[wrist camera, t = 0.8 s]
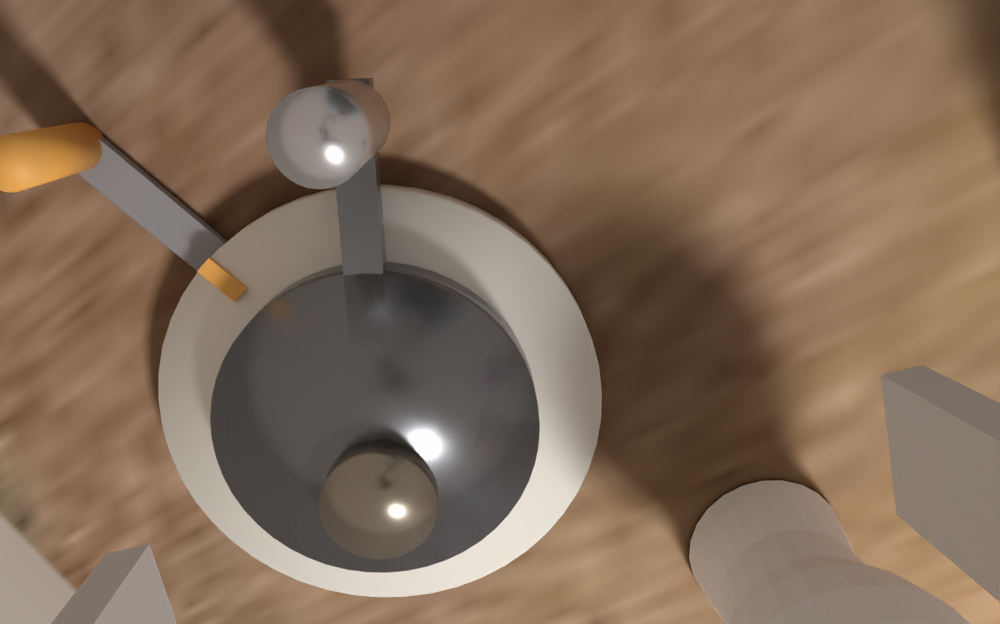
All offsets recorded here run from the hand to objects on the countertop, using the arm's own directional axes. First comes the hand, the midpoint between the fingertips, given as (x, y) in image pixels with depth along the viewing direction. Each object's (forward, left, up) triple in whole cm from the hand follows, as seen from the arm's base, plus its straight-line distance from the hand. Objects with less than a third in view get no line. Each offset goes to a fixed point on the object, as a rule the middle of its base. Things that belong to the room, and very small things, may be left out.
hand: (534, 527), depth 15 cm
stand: (+8, +1, -23) cm, 25 cm away
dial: (+7, +1, -22) cm, 23 cm away
